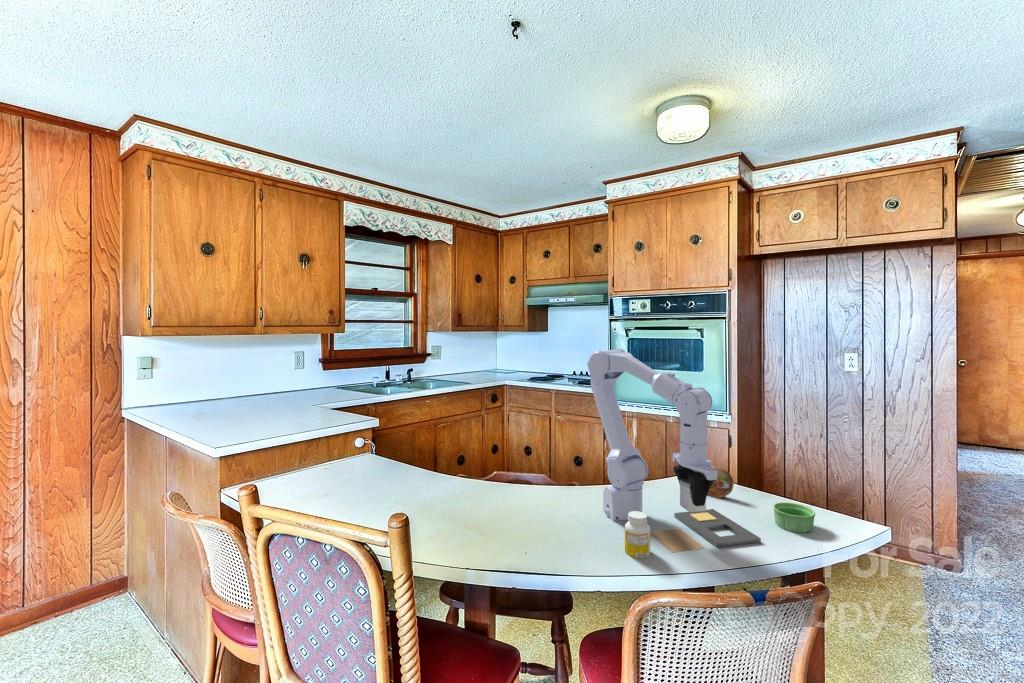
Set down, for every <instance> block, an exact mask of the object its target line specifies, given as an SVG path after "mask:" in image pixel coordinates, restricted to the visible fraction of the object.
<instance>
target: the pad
mask: <svg viewBox="0 0 1024 683" xmlns="http://www.w3.org/2000/svg"><path fill="white" fill-rule="evenodd" d="M650 536H652V537H654V538H655V539H656V540H657V541H658V542H659V543H660V544H662V546H664V547H665V548H666V549H667V550H668V551H669V552H671V553H679V552H686V551H687V552H688V551H697V550H705V549H706V547H704V546H703V545H702V544H700V542H698V541H696V539H694V538H692V537H691V536H690V535H689V534H688V533H686V532H685V531H683V530H682V529H681V528H676V529H675V528H674V529H668V530H658V531H657V530H656V531H650Z"/></svg>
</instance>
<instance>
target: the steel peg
mask: <svg viewBox="0 0 1024 683" xmlns="http://www.w3.org/2000/svg"><path fill="white" fill-rule="evenodd" d="M679 506H680V507H681V508H683V509H684V510H686V512H697V511H706V510H707V500H706V501H705V504H704V506H695V505H694V501H693V492H692V486H691V483H690V480H689V479H682V480H680V484H679Z"/></svg>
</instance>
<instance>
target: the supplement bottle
mask: <svg viewBox="0 0 1024 683" xmlns="http://www.w3.org/2000/svg"><path fill="white" fill-rule="evenodd" d="M650 532H651V526H650V525H649V524H648V515H647V513H645V512H643V511H642V512H639V511H632V512H629V513H628V520H627V522H626V523H625V525H624V553H625V554H626V555H628V556H630V557H632V558H636V559H646V558H649V557H650V555H651V534H650Z"/></svg>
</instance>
